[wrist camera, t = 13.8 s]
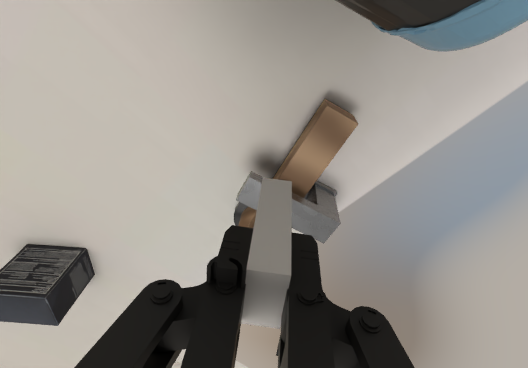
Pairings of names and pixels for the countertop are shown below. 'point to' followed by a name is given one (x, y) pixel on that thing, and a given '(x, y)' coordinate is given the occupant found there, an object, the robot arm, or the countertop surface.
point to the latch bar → (311, 152)
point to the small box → (43, 283)
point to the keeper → (301, 207)
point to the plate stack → (176, 365)
